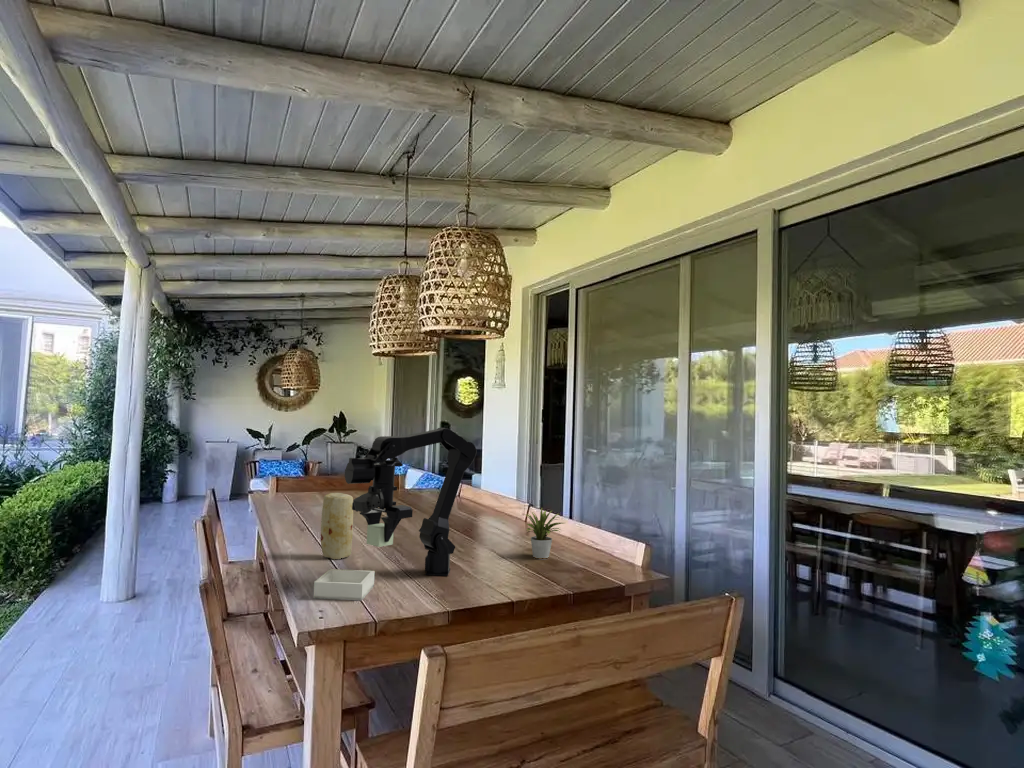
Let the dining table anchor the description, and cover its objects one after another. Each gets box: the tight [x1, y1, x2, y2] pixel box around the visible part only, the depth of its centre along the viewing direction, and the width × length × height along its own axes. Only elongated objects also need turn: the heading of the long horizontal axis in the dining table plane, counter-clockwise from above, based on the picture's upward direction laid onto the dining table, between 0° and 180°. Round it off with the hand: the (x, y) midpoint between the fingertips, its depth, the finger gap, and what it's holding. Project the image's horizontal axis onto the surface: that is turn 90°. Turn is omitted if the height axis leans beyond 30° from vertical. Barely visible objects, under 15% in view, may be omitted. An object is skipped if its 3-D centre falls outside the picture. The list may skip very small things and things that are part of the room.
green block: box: [366, 522, 395, 548], centre depth 163 cm, size 5×5×5 cm
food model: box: [320, 492, 354, 560], centre depth 187 cm, size 10×7×20 cm
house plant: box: [522, 507, 565, 559], centre depth 196 cm, size 14×14×16 cm
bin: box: [313, 568, 376, 602], centre depth 154 cm, size 12×12×4 cm
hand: (379, 540), depth 163 cm, fingers closed on green block, 5 cm apart
